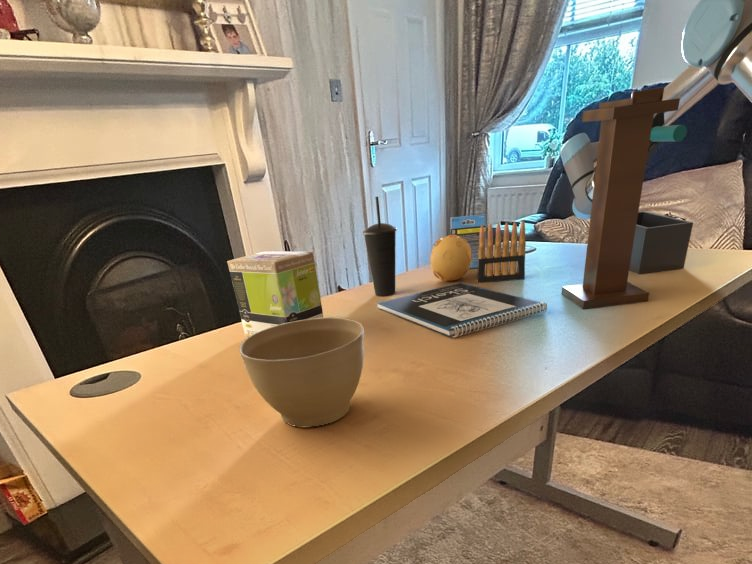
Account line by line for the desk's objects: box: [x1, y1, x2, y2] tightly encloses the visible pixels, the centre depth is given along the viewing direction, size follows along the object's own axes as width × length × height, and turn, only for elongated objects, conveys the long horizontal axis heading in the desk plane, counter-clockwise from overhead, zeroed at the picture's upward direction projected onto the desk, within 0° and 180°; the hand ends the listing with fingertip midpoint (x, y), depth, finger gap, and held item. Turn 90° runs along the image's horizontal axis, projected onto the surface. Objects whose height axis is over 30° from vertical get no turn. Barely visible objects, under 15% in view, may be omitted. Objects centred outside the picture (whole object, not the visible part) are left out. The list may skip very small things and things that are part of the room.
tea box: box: [226, 250, 325, 335], centre depth 104 cm, size 15×10×15 cm
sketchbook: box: [376, 282, 548, 339], centre depth 107 cm, size 22×30×2 cm
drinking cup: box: [362, 196, 398, 297], centre depth 120 cm, size 8×8×20 cm
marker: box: [650, 124, 688, 143], centre depth 109 cm, size 18×3×3 cm, turn 2°
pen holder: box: [629, 210, 694, 275], centre depth 120 cm, size 22×10×9 cm, turn 2°
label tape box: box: [449, 213, 487, 270], centre depth 134 cm, size 9×4×12 cm, turn 79°
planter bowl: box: [238, 316, 365, 428], centre depth 71 cm, size 16×16×11 cm
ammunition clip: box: [477, 220, 527, 284], centre depth 120 cm, size 11×2×12 cm, turn 79°
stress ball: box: [429, 234, 472, 282], centre depth 126 cm, size 10×10×10 cm
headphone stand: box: [561, 87, 680, 310], centre depth 94 cm, size 13×12×32 cm
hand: (656, 117), depth 109 cm, fingers closed on marker, 2 cm apart
